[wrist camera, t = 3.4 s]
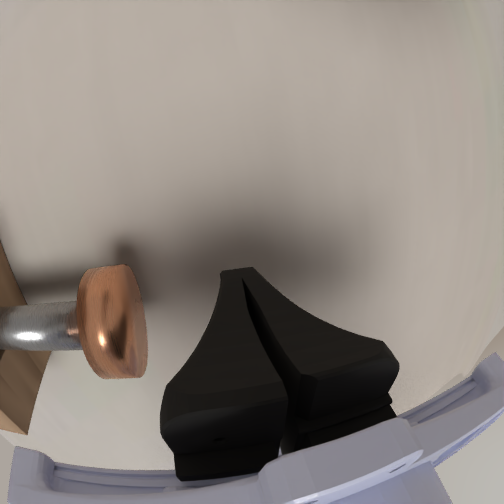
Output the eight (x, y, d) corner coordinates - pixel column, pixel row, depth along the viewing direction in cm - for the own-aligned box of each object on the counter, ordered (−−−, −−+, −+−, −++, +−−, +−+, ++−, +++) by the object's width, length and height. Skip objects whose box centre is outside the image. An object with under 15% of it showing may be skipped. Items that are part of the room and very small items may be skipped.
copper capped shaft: (126, 244, 11) (103, 314, 7) (150, 324, 13) (145, 399, 9) (-43, 271, 9) (-81, 321, 5) (-12, 332, 11) (-37, 385, 8)
